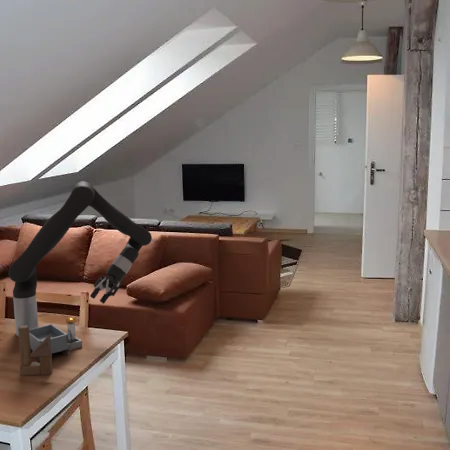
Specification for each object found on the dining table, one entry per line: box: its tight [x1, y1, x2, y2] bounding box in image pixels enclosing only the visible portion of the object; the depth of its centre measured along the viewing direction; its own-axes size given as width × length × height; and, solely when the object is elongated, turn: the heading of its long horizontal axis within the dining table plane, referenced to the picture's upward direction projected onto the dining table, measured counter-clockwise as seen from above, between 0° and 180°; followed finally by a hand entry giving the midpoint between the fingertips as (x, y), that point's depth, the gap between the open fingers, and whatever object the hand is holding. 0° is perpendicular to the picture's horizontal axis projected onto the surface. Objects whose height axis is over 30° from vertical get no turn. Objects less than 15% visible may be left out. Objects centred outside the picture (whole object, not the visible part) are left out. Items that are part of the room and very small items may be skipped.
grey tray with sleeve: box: [29, 323, 83, 363], centre depth 207 cm, size 15×19×9 cm
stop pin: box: [65, 316, 77, 343], centre depth 211 cm, size 4×4×12 cm
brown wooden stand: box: [18, 325, 54, 377], centre depth 187 cm, size 4×11×18 cm, turn 96°
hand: (96, 299), depth 217 cm, fingers open, 8 cm apart
